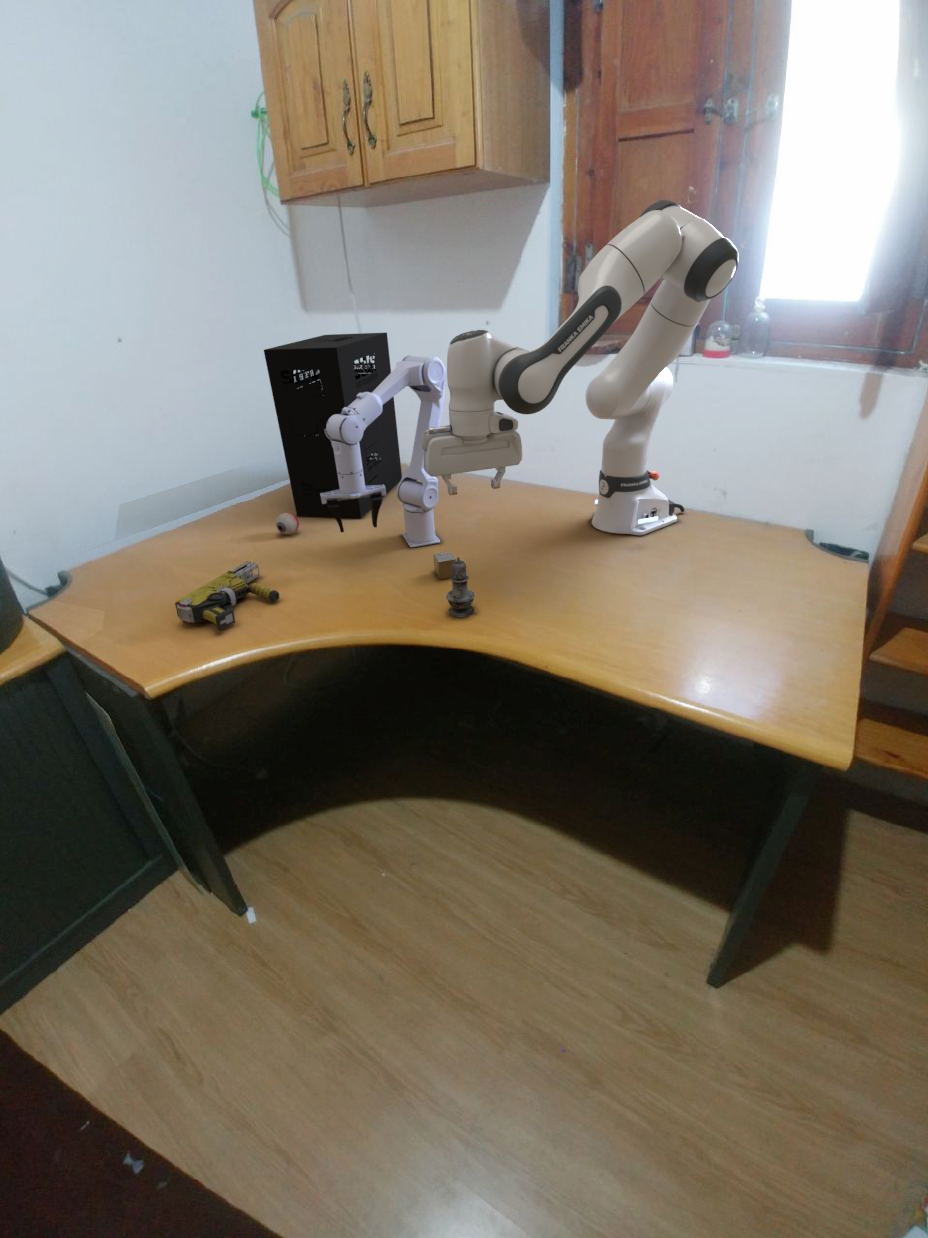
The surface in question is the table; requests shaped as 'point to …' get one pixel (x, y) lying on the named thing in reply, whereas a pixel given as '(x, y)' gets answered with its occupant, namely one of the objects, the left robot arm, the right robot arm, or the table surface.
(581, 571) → the table surface
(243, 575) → the toy gun
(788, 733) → the table surface
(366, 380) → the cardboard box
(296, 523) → the eyeball
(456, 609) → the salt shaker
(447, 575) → the block
